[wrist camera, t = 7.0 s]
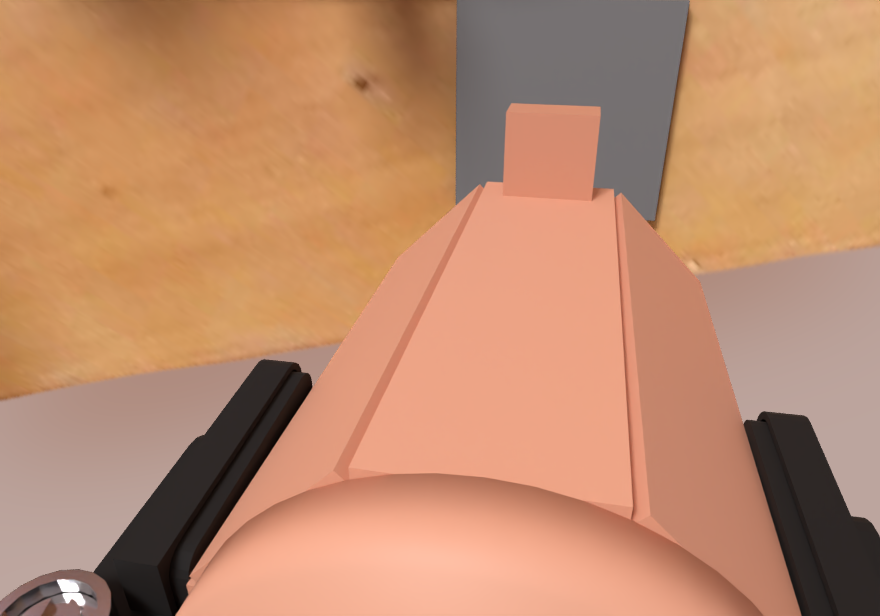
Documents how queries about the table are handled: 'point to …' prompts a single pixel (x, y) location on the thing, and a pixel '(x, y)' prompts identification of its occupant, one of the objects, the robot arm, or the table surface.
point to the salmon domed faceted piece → (514, 427)
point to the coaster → (570, 82)
